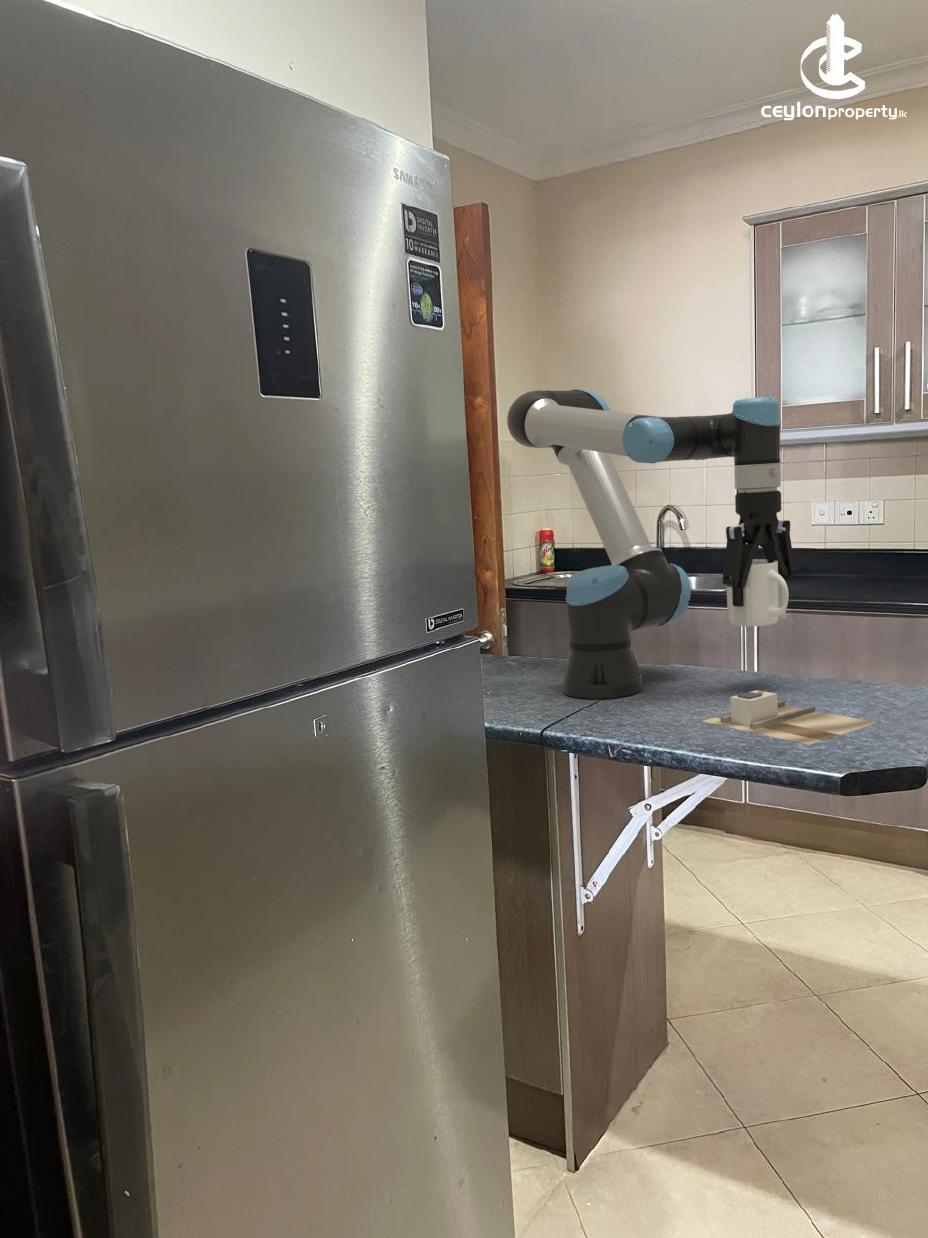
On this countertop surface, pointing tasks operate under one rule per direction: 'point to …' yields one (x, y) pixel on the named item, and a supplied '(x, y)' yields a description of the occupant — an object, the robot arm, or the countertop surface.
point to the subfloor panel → (797, 724)
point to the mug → (761, 594)
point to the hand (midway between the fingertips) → (760, 620)
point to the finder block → (753, 707)
